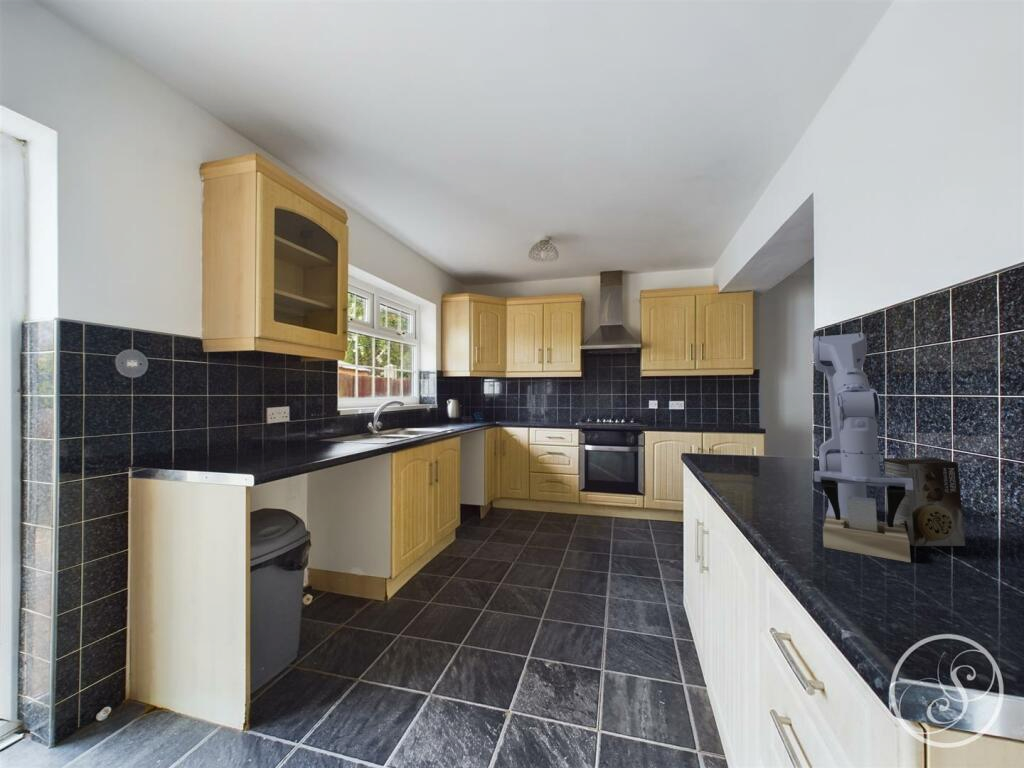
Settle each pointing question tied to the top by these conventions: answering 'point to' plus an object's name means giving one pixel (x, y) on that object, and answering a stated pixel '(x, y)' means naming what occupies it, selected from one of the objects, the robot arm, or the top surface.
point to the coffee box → (929, 501)
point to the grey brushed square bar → (862, 514)
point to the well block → (867, 539)
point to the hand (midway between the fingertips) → (863, 522)
